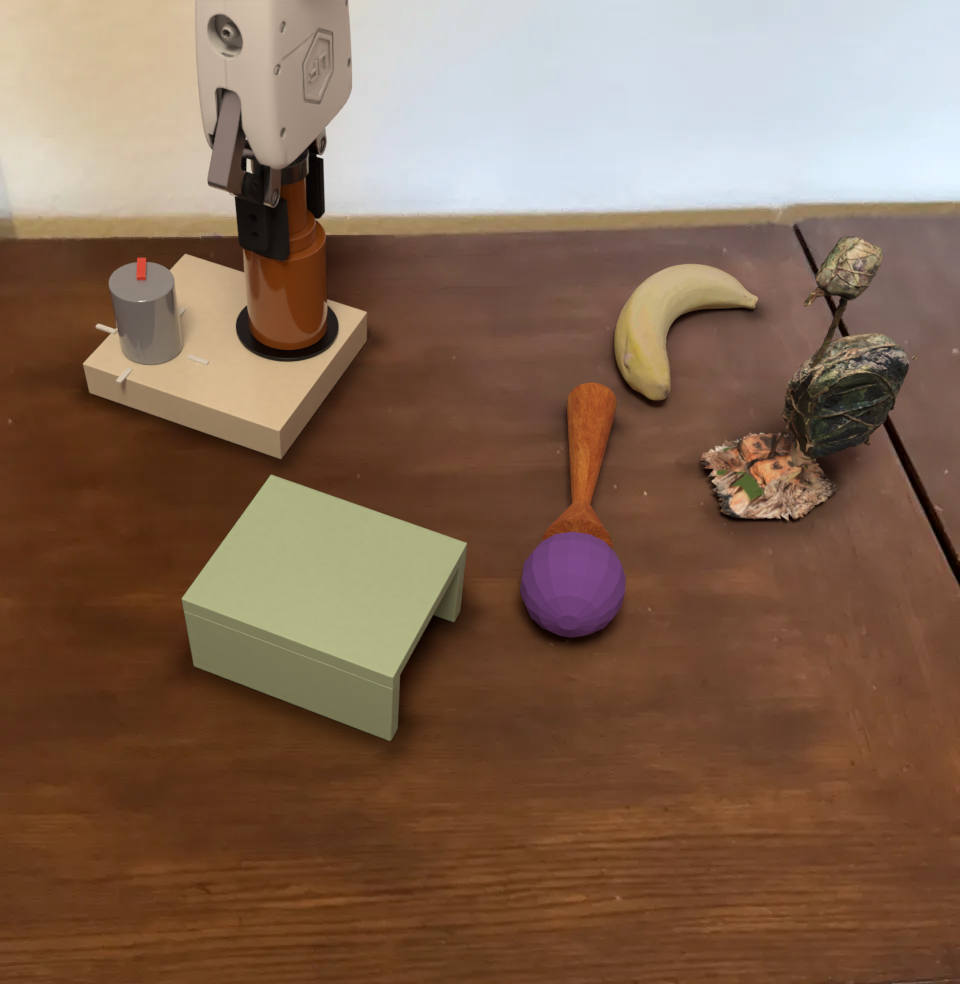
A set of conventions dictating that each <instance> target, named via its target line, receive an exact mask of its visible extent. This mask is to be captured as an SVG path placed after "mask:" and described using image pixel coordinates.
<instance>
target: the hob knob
mask: <svg viewBox="0 0 960 984" xmlns="http://www.w3.org/2000/svg"><path fill="white" fill-rule="evenodd" d="M147 260H148V259H147V257H137V258H136V261H135V262H130V263H127V264H124V265H121V266H120V267H118V268H117V269H115V270H113V272H112V273H111V275H110V276H109V279H108V283H107V285H108V289H109V297H110V300H111V306H112V312H113V315H114V321H115V326H116V327H117V332H118V337H119V342H120V347H121V351H122V352H123V354H124V355H125V356H126V357H127V358H128V359H130V360H132V361H134V362H136V363H140V364H147V365H152V364H160V363H164V362H167V361H169V360H171V359H173V358H174V357H176V356H177V355H178V354H179V353H180V351H181V349H182V347H183V336H182V329H181V322H180V315H179V308H178V301H177V294H176V287H175V280H174V276H173V274H172V273H171V272H170V271H169V270H170V269H168V268H167V267H166V266H164V265H162V264H159V263H156V262H152V261H147ZM116 327H115V328H116Z"/></svg>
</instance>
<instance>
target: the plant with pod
mask: <svg viewBox="0 0 960 984" xmlns="http://www.w3.org/2000/svg"><path fill="white" fill-rule="evenodd" d="M882 261H883V250H882V249H881V246H877V245H875V244H874V243H870V242H868V241H867V240H865V239H864V238H862V237H860V236H856V235H853V236H852V235H851V236H850V235H845V236H842V237H840V238H839V239H838V240H837V242H836V243H835V245H834V247H833V248H832V249H831V251H830V252H829V253H828V254H827V256H826V258H825V259H824V260H823V261H822V263H821V264H820V266H819V268H818V271H817V272H816V273H815V274H814V276H815V277H814V280H815V283H816V284H817V287H816V289H814V291H811V292H810V293H809V294H808V295H809V296H807V298H806V299H805V301H804V302H803V306H804V307H808V306H810V305H811V304H813V303H814V302H815V300H816V299H817V298H820V297H829V296H831V297H835V296H836V297H840V298H839V300H838V305H837V307H836V308H835V312H834V314H833V318H832V320H831V323H830V326H829V327H828V330H827V333H826V334H825V337H824V338H823V343H822V345H821V347H819V348H818V349H816V350H815V351H814V352H813V353H812V354H810V355H809V356H807V359H805V360H804V362H802V364H801V365H800V366H799V367H798V369H797V370H796V371H795V372H794V373H793V376H792V377H791V378H790V379H789V381H788V382H787V384H786V393H785V395H784V405H783V406H782V412H781V415H780V417H781V418H782V420H783V422H784V423H785V424H784V426H783V428H782V429H781V432H778V434H777V433H770V432H769V433H764V432H759V433H758V434H757V433H755V432H754V433H752V432H749V434H748V435H746V436H743V437H742V438H740V437H736V440H731V439H724V441H723V444H722V445H721V446H720V445H714V449H715V450H714V449H713V448H710V449H709V450H708V451H707V452H702V454H701V459H699V462H700V463H699V464H701V465H702V466H704V467H702V469H703V470H704V469H709V470H710V469H712V471H711V472H710V473H709V475H708V476H707V477H708V478H710V477H714V478H713V479H712V480H711V483H712V484H714V485H715V486H716V487H713V488H712V491H714V492H715V493H716V497H719V499H718V501H721V502H719V503H717V504H718V505H719V506H720V507H721V509H720V510H719V511H720V512H722V513H723V514H725V515H728V516H730V517H731V518H736V519H739V518H740V519H753V520H758V519H765V518H767V519H774V518H776V519H780V520H781V517H782V518H784V519H785V520H786V521H788V522H789V521H790V520H789V517H792V519H793V520H797V519H800V518H804V515H808V514H809V513H808V512H812V510H813V509H814V508H815V507H816V506H817V505H819V504H821V503H822V502H823V503H824V502H826V500H828V497H832V495H834V494H836V492H838V491H840V489H838V487H836V486H838V485H839V483H836V484H835V481H832V480H831V479H828V476H827V475H826V474H825V473H824V470H823V469H822V468H821V467H820V466H819V465H820V463H818V462H817V459H822V458H827V457H831V456H832V455H835V454H837V453H840V452H843V451H845V450H847V449H850V448H856V447H859V446H860V445H861V444H864V445H866V446H870V445H871V435H872V434H874V432H875V431H876V430H877V429H879V428H881V426H882V425H884V424H885V422H886V421H887V418H888V415H889V413H890V411H894V410H895V405H896V402H897V398H898V395H899V393H900V391H901V388H902V386H903V385H904V383H905V382H904V381H905V378H906V376H907V375H908V373H909V368H910V359H909V357H908V354H907V353H906V350H904V349H905V348H903V347H901V345H899V344H898V343H896V342H895V340H894V339H893V338H891V337H890V336H887V335H886V334H883V333H876V332H873V333H872V332H870V333H866V334H850V335H847V336H842V337H839V338H836V339H834V340H833V338H834V336H835V333H836V329H837V328H838V326H839V325H840V321H841V318H842V317H844V313H845V311H846V309H847V306H848V301H853V300H857V298H859V297H860V296H861V295H862V294H863V293H864V292H866V290H867V289H868V288H869V286H870V285H871V283H872V281H873V279H875V277H876V275H877V273H878V272H879V270H880V267H881V266H882ZM917 359H918V354H916V355H914V356H912V360H913V361H916V360H917ZM788 429H789V430H790V432H789V433H787V431H788ZM789 515H790V516H789Z"/></svg>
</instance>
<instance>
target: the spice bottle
mask: <svg viewBox="0 0 960 984" xmlns="http://www.w3.org/2000/svg"><path fill="white" fill-rule="evenodd" d="M250 170H251V173H253V174H256V175H257V176H259V177H260V178H261V179H263V174H264V165H262V164H260V163H259V162H257V161H253V160H250ZM308 172H309V152H308V149H307V148H306V149H305V150H304V151H303V152H302V153H301V154H300V155H299V156H298V157H297V158H296V159H295V160H294V161H293V162H292V163H291V164H289V165H288V166H286V167H284V168H282V169H281V191H280V198H283V199H286V200H287V208H288V226H289V244H290V255H289V256H288V257H287V258H286V260H284V261H280V260H277V259H274V258H271V257H267V256H264V255H261V254H258V253H255V252H252V251H248V250H245V249H243V248H242V247H241V249H242V261H243V272H244V274H245V286H246V298H247V309H248V321H249V329H250V332H251V333H252V335H253V336H254V337H255V339H257V340H258V341H259V342H260V343H262V344H264V345H266V346H268V347H271V348H275V349H280V350H297V349H302V348H306V347H309V346H311V345H313V344H315V343H317V342H318V341H319V340H320V339H321V338H322V337H323V336H324V335H325V333H326V331H327V327H328V314H327V299H328V276H327V275H328V270H327V269H328V268H327V235H326V230H325V228H324V227H323V225H322V224H321V223H320V221H318V219H315V217H314V215H313V214H312V213H311V212H310V211H309V210H308V209H307V191H306V176H307V174H308Z"/></svg>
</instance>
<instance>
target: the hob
mask: <svg viewBox="0 0 960 984" xmlns="http://www.w3.org/2000/svg"><path fill="white" fill-rule="evenodd" d="M168 270H169V271H170V272H171V273H172V274H173V276H174V280H175V287H176V294H177V301H178V308H179V315H180V322H181V329H182V336H183V347H182V349H181V351H180V353H179V354H178V355H177V356H176V357H174V358H173V359H171V360H169V361H167V362H164V363H160V364H152V365H147V364H140V363H136V362H134V361H132V360H130V359H128V358H127V357H126V356H125V355H124V354H123V352H122V351H121V347H120V342H119V337H118V332H117V327H115V328H113V327H110V326H107V325H105V324H101V323H96V325H95V326H94V327H95V329H97V330H99V331H102V332H105V333H108V334H109V335H108V336H107V337H106V338H105V339H104V340H103V341H102V342H101V343H100V345H99V346H97V348H96V349H95V350H94V351H93V352H92V353H91V354H90V355H89V356H88V357H87V358H86V360H85V361H84V362H83V363H82V367H83V371H84V375H85V380H86V384H87V388H88V393H89V394H91V395H94V396H97V397H101V398H102V399H105V400H109V401H111V402H114V403H117V404H120V405H123V406H125V407H129V408H131V409H135V410H137V411H140V412H143V413H146V414H149V415H151V416H155V417H158V418H160V419H163V420H167V421H168V422H172V423H175V424H177V425H181V426H183V427H187V428H190V429H192V430H195V431H198V432H200V433H204V434H207V435H209V436H213V437H216V438H218V439H220V440H221V439H222V440H224V441H227V442H230V443H232V444H236V445H239V446H242V447H244V448H247V449H249V450H253V451H255V452H259V453H262V454H264V455H268V456H270V457H273V458H276V459H278V460H282V459H283V458H284V456H285V455H286V454H287V452H288V451H289V450H290V448H291V447H292V446H293V444H294V442H295V441H296V440H297V439H298V437H299V435H300V434H301V433H302V431H303V430H304V429H305V427H306V426H307V424H308V423H309V422H310V420H311V419H312V418H313V416H314V415H315V413H316V412H317V410H318V409H319V408H320V407H321V405H322V404H323V402H324V401H325V399H326V398H327V397H328V395H329V394H330V393H331V391H332V390H333V388H334V387H335V386H336V384H338V381H339V380H340V379H341V378H342V376H343V375H344V373H345V372H346V371H347V369H348V368H349V366H350V365H351V363H352V362H353V360H354V359H355V358H356V356H357V355H358V354H359V352H360V351H361V350H362V349H363V347H364V345H365V344H366V343H367V341H368V312H367V311H366V310H363V309H359V308H357V307H353V306H349V305H346V304H344V303H340V302H337V301H335V300H331V299H328V298H327V305H328V306H329V307H330V308H331V309H332V310H333V311H334V313H335V314H336V316H337V319H338V323H339V332H338V336H337V338H336V340H335V342H334V343H333V345H332V346H331V347H330V348H329V349H327V350H326V351H325V352H323V353H322V354H320V355H318V356H315V357H313V358H310V359H306V360H302V361H294V362H281V361H273V360H269V359H265V358H262V357H260V356H257V355H255V354H253V353H252V352H250V351H249V350H247V349H246V348H245V347H244V346H243V345H242V343H241V342H240V341H239V339H238V336H237V333H236V320H237V317H238V315H239V313H240V312H241V310H242V309H243V308H244V307H245V306H246V305H247V298H246V286H245V274H244V271H241V270H238V269H234V268H232V267H229V266H225V265H222V264H219V263H216V262H212V261H209V260H206V259H203V258H200V257H197V256H193V255H191V254H188V253H184V254H183V256H181V258H179V260H178V261H177V262H175V264H174V265H173V266H172V267H171V268H170V269H168Z"/></svg>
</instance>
